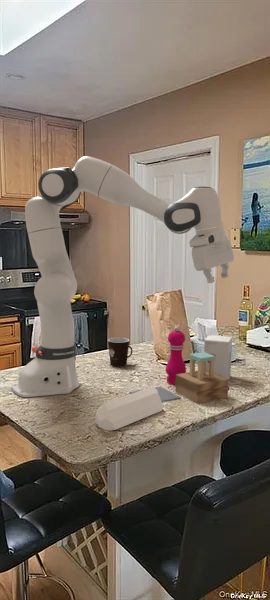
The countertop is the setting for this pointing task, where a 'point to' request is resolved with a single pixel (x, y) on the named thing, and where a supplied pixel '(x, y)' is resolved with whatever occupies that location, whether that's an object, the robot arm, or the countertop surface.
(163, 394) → the mat
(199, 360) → the stool
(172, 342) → the pepper mill
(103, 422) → the crystal
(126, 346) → the coffee mug
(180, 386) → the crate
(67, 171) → the robot arm
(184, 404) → the countertop surface
